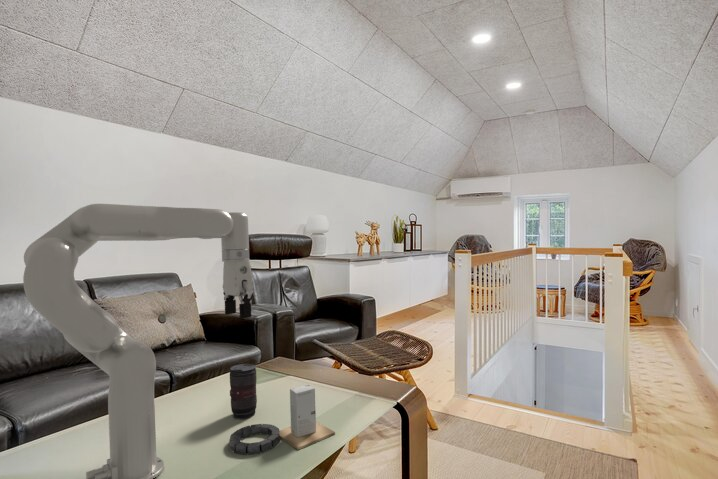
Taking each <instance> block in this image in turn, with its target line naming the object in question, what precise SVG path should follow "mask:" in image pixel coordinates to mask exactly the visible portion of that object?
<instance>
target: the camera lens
mask: <svg viewBox="0 0 718 479" xmlns="http://www.w3.org/2000/svg"><path fill="white" fill-rule="evenodd" d="M256 367H257V366H256V365H255V364H253V363H252V364H251V363H241V364H236V365H233V366H231V367H230V372H229V386H230V389H229V396H230V408H231V413H232V414H233V415H232V416H233V418H235V419H237V420H244V419H245V420H246V419H249V418H251V417H253V416H254V415H255V414H256V409H257V403H258V396H257V368H256Z"/></svg>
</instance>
